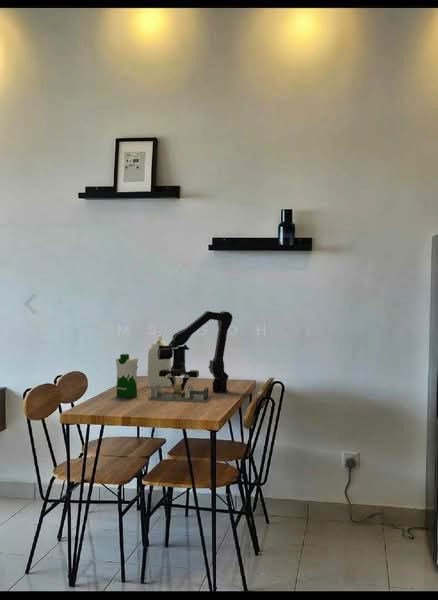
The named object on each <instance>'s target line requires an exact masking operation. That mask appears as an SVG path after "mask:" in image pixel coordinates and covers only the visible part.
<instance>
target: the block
mask: <svg viewBox="0 0 438 600" xmlns="http://www.w3.org/2000/svg"><path fill="white" fill-rule="evenodd" d="M182 385H183V381H176V383H175V384H174V388H173V394H185V390H184V391H182Z"/></svg>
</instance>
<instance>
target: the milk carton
mask: <svg viewBox="0 0 438 600" xmlns="http://www.w3.org/2000/svg"><path fill="white" fill-rule="evenodd" d="M138 362H139V358H137V357H136V358H135V357H130V354H128V353H123V354H122V353H121V354H120V358H118V357H117V358H116V359H115V363H116V364H115V365H116V398H122V399H131V398H135V397H137V396H138V391H137V390H138V387H137V386H138V385H137V381H138V380H137V379H138V378H137V375H138V374H137V373H138V372H137V371H138V368H137V366H138Z"/></svg>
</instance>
